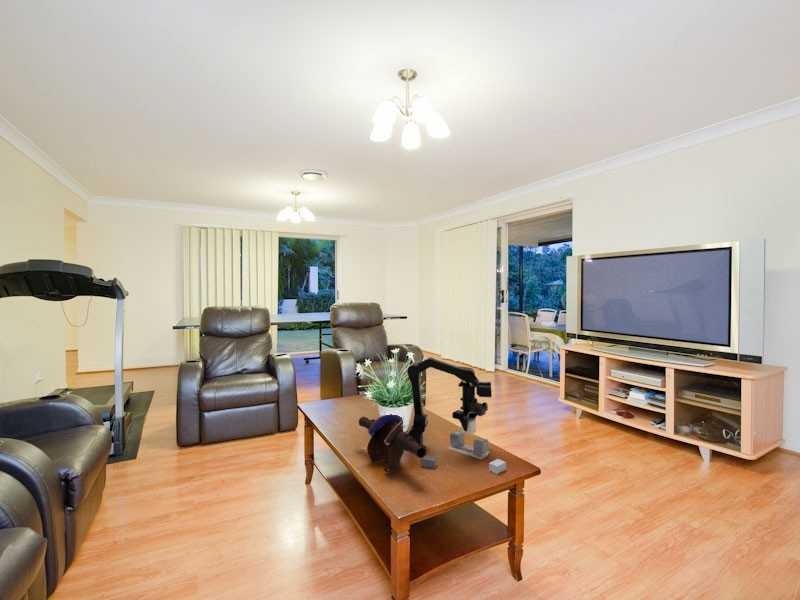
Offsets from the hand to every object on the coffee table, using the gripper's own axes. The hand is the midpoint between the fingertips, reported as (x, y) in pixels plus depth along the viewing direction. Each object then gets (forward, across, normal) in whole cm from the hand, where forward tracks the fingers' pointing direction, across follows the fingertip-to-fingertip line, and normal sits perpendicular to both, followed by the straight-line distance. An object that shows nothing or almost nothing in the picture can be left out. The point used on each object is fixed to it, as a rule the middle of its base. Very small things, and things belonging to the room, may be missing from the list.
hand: (468, 429), depth 176 cm
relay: (+10, -23, +5) cm, 26 cm away
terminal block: (+10, -8, -19) cm, 23 cm away
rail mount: (+10, 0, 0) cm, 10 cm away
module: (+1, 0, 0) cm, 1 cm away
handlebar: (+11, -34, +19) cm, 40 cm away
